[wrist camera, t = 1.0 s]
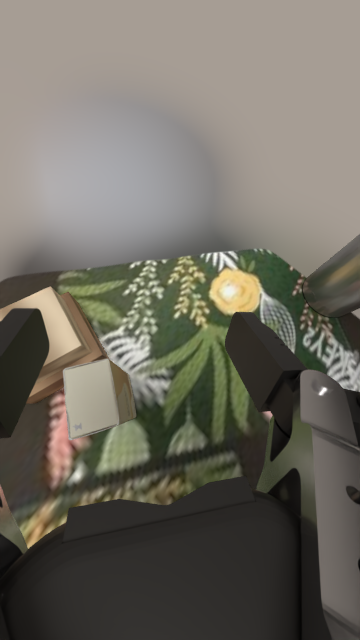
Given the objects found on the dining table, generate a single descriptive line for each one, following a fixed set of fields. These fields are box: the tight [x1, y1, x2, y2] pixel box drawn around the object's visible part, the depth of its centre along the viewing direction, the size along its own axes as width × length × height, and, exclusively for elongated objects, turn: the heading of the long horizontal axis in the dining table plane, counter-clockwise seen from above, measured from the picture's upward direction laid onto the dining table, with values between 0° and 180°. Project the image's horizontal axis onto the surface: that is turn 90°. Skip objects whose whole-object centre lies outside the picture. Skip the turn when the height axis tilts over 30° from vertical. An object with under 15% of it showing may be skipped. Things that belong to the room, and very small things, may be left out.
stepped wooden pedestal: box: [0, 286, 109, 404], centre depth 28 cm, size 11×11×8 cm
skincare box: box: [63, 359, 137, 440], centre depth 24 cm, size 6×4×12 cm
